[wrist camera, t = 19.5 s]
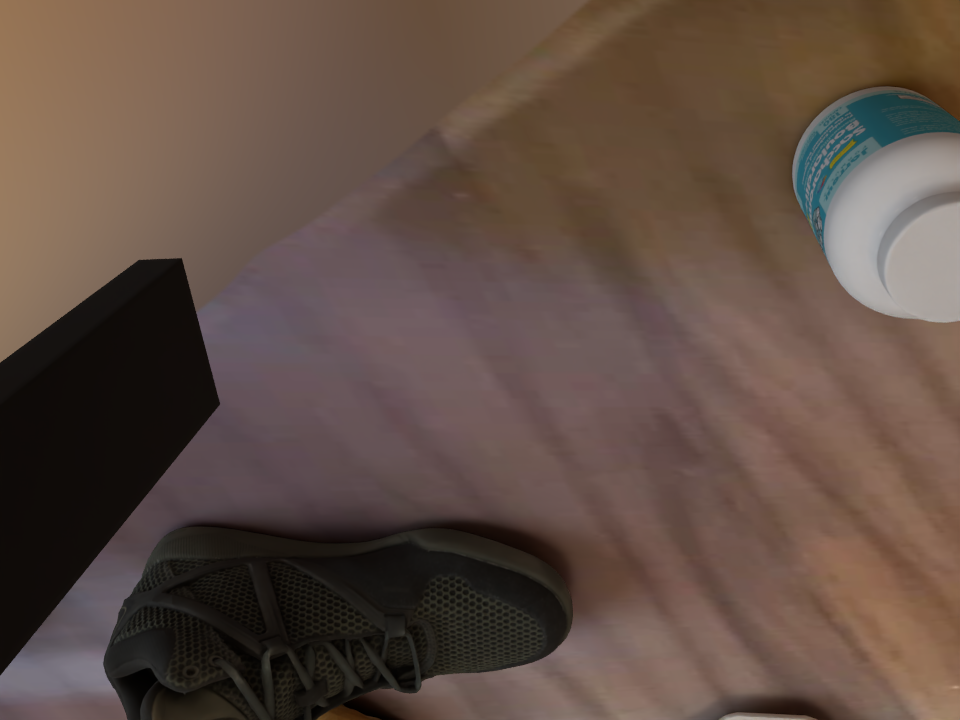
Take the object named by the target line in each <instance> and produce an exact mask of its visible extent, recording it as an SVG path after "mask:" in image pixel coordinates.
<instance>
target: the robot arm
mask: <svg viewBox="0 0 960 720" xmlns="http://www.w3.org/2000/svg"><path fill="white" fill-rule="evenodd" d="M219 405H220V402H219V398H218V395H217V391H216V387H215V383H214V379H213V375H212V372H211V368H210V364H209V360H208V356H207V353H206V349H205V345H204V341H203V337H202V333H201V330H200V326H199V322H198V318H197V314H196V311H195V307H194V303H193V299H192V295H191V291H190V288H189V284H188V280H187V276H186V273H185V269H184V265H183V261H182V258H177V259H152V260H138V261H137V262H136V263H134V264H133V265H132V266H130V267H129V268H127V269H126V270H125V271H123V272H122V273H121V274H120V275H118V276H117V277H115V278H114V279H113V280H111V281H110V282H109V283H107V284H106V285H105V286H103V287H102V288H101V289H99V290H98V291H96V292H95V293H94V294H92V295H91V296H90V297H88V298H87V299H86V300H84V301H83V302H82V303H80V304H79V305H78V306H76V307H75V308H73V309H72V310H71V311H69V312H68V313H67V314H65V315H64V316H63V317H61V318H60V319H59V320H57V321H56V322H55V323H53V324H52V325H51V326H49V327H48V328H46V329H45V330H44V331H42V332H41V333H40V334H38V335H37V336H36V337H34V338H33V339H32V340H31V341H29V342H28V343H26V344H25V345H24V346H22V347H21V348H19V349H18V350H17V351H15V352H14V353H13V354H12V355H10V356H9V357H7V358H6V359H5V360H3V361H2V362H1V363H0V675H1V674H2V673H3V671H4V670H5V669H6V668H7V667H8V665H9V664H10V663H11V662H12V660H13V659H14V658H15V657H16V655H17V654H18V653H19V652H20V650H21V649H22V648H23V647H24V646H25V644H26V643H27V642H28V641H29V639H30V638H31V637H32V636H33V634H34V633H35V632H36V631H37V630H38V628H39V627H40V626H41V625H42V623H43V622H44V621H45V620H46V618H47V617H48V616H49V615H50V613H51V612H52V611H53V610H54V609H55V607H56V606H57V605H58V604H59V602H60V601H61V600H62V599H63V597H64V596H65V595H66V594H67V592H68V591H69V590H70V589H71V588H72V586H73V585H74V584H75V583H76V581H77V580H78V579H79V578H80V576H81V575H82V574H83V573H84V571H85V570H86V569H87V568H88V567H89V565H90V564H91V563H92V562H93V560H94V559H95V558H96V557H97V555H98V554H99V553H100V552H101V551H102V549H103V548H104V547H105V546H106V544H107V543H108V542H109V541H110V539H111V538H112V537H113V536H114V534H115V533H116V532H117V531H118V530H119V528H120V527H121V526H122V525H123V523H124V522H125V521H126V520H127V518H128V517H129V516H130V515H131V513H132V512H133V511H134V510H135V509H136V507H137V506H138V505H139V504H140V502H141V501H142V500H143V499H144V497H145V496H146V495H147V494H148V492H149V491H150V490H151V489H152V488H153V486H154V485H155V484H156V483H157V481H158V480H159V479H160V478H161V476H162V475H163V474H164V473H165V471H166V470H167V469H168V468H169V467H170V465H171V464H172V463H173V462H174V460H175V459H176V458H177V457H178V455H179V454H180V453H181V452H182V451H183V449H184V448H185V447H186V446H187V444H188V443H189V442H190V441H191V439H192V438H193V437H194V436H195V434H196V433H197V432H198V431H199V430H200V428H201V427H202V426H203V425H204V423H205V422H206V421H207V420H208V418H209V417H210V416H211V415H212V413H213V412H214V411H215V410H216V409H217V407H218V406H219Z"/></svg>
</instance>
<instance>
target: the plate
mask: <svg viewBox="0 0 960 720" xmlns="http://www.w3.org/2000/svg"><path fill="white" fill-rule="evenodd" d="M718 720H818V719H815V718H812V717H809V716H806V715H785V714H764V713H743V712H736V713H732V714H727V715H725V716H723V717H722V718H720V719H718Z"/></svg>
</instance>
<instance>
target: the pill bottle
mask: <svg viewBox="0 0 960 720" xmlns="http://www.w3.org/2000/svg"><path fill="white" fill-rule="evenodd" d="M792 179H793V187H794V191H795V194H796V197H797V200H798V202H799V204H800V206H801V209H802V211H803V213H804V214H805V216H806V218H807V220H808V222H809V224H810V226H811V228H812V230H813V232H814V234H815V236H816V238H817V240H818V242H819V244H820V246H821V248H822V250H823V252H824V254H825V256H826V258H827V260H828V262H829V264H830V266H831V268H832V270H833V272H834V274H835V276H836V278H837V279H838V281H839V282H840V284H841V285H842V286H843V287H844V289H845V290H846V291H847V292H848V293H849V294H850V295H851V296H852V297H854V298H855V299H856V300H857V301H859V302H860V303H862V304H863V305H865V306H866V307H868V308H870V309H873V310H875V311H877V312H880V313H883V314H886V315H889V316H893V317H899V318H909V319H922V320H926V321H931V322H939V323H946V322H956V321H960V121H958V120H957V119H956V118H954V117H953V116H952V115H950V114H949V113H948V112H947V111H945V110H944V109H943V108H941V107H940V106H939V105H937V104H936V103H934V102H933V101H932V100H930V99H929V98H927V97H925V96H923V95H921V94H919V93H917V92H914V91H912V90H909V89H905V88H899V87H890V86H884V87H873V88H867V89H863V90H859V91H856V92H854V93H851V94H849V95H847V96H844V97H842V98H840V99H839V100H837V101H835V102H834V103H832V104H831V105H829V106H828V107H827V108H826V109H824V110H823V111H822V112H821V113H820V114H819V115H818V116H817V117H816V118H815V119H814V120H813V121H812V122H811V124H810V125H809V126H808V128H807V129H806V131H805V132H804V134H803V136H802V138H801V140H800V142H799V144H798V147H797V149H796V153H795V156H794V161H793V171H792Z"/></svg>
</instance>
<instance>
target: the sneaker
mask: <svg viewBox="0 0 960 720" xmlns="http://www.w3.org/2000/svg"><path fill="white" fill-rule="evenodd" d="M572 617H573V608H572V600H571V596H570V593H569V591H568V588H567V586H566V584H565V582H564V580H563V579H562V577H561V576H560V575H559V574H558V573H557V572H556V571H555V570H554V569H553V568H552V567H551V566H550V565H549V564H547V563H545V562H544V561H542V560H540V559H538V558H537V557H535V556H533V555H530V554H528V553H526V552H523V551H521V550H518V549H515V548H513V547H510V546H507V545H504V544H502V543H499V542H496V541H493V540H490V539H487V538H484V537H481V536H477V535H474V534H470V533H466V532H462V531H458V530H452V529H443V528H425V529H417V530H411V531H405V532H402V533H398V534H394V535H391V536H388V537H385V538H382V539H378V540H373V541H368V542H360V543H314V542H306V541H299V540H292V539H287V538H281V537H275V536H270V535H264V534H258V533H252V532H247V531H241V530H234V529H226V528H218V527H185V528H180V529H177V530H174V531H172V532H170V533H169V534H168V535H166V536H165V537H164V538H162V539H161V541H160V542H159V543H158V544H157V546H156V547H155V548H154V550H153V552H152V553H151V555H150V557H149V559H148V561H147V564H146V567H145V569H144V571H143V574H142V578H141V580H140V581H139V582H138V584H137V585H136V587H135V588H134V590H133V592H132V594H131V595H130V597H128V598H127V599H125V600H124V603H123V606H122V608H121V610H120V611H119V615H118V621H117V624H116V626H115V628H114V631H113V634H112V637H111V640H110V643H109V645H108V648H107V650H106V653H105V656H104V663H103V665H104V669H105V673H106V675H107V678H108V680H109V681H110V683H111V684H112V686H113V688H114V689H115V690H116V692H117V694H118V696H119V698H120V700H121V702H122V704H123V707H124V709H125V712H126V715H127V719H128V720H317V719H318V718H319V717H320V716H322V715H323V714H325V713H327V712H328V711H330V710H332V709H334V708H336V707H338V706H339V705H341V704H343V703H345V702H347V701H349V700H352V699H354V698H357V697H359V696H361V695H364V694H366V693H368V692H371V691H374V690H377V689H379V688H380V689H391V688H394V689H395V690H397V691H400V692H403V693H417V692H418V691H419V690H420V688H421V681H423V680H425V679H428V678H432V677H434V676H436V675H445V674H453V673H480V672H489V671H496V670H502V669H506V668H511V667H516V666H520V665H525V664H528V663H532V662H535V661H537V660H540V659H542V658H544V657H546V656H547V655H549V654H550V653H552V652H553V651H554V650H555V649H556V648H557V647H558V646H559V645H560V644H561V643H562V642H563V641H564V640H565V639H566V638H567V636H568V634H569V632H570V629H571V624H572Z"/></svg>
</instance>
